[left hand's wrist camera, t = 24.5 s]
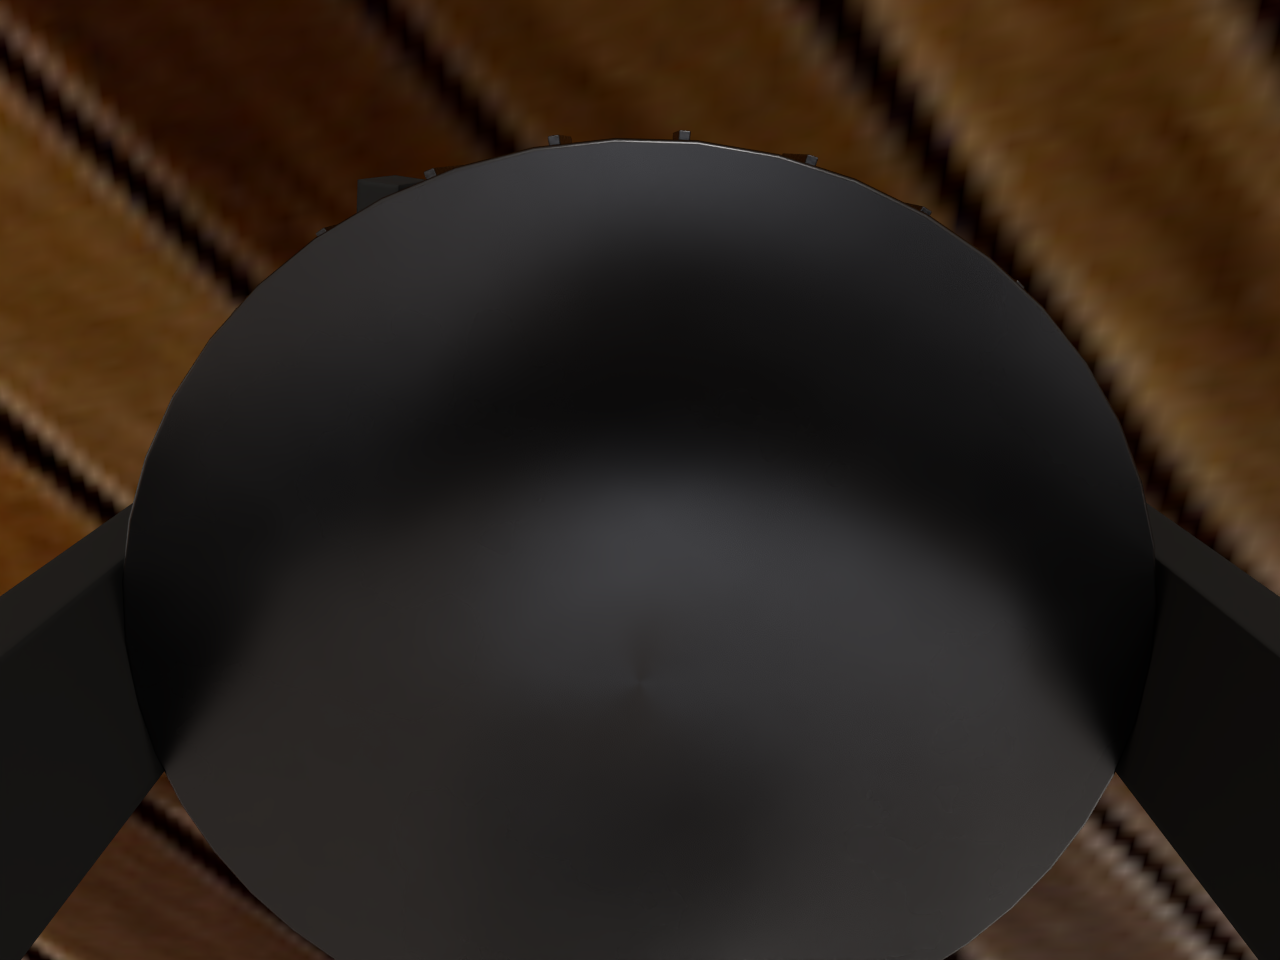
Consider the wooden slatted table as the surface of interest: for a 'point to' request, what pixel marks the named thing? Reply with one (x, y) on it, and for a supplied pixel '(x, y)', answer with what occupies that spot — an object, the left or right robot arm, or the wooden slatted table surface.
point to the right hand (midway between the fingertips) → (668, 219)
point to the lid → (639, 571)
